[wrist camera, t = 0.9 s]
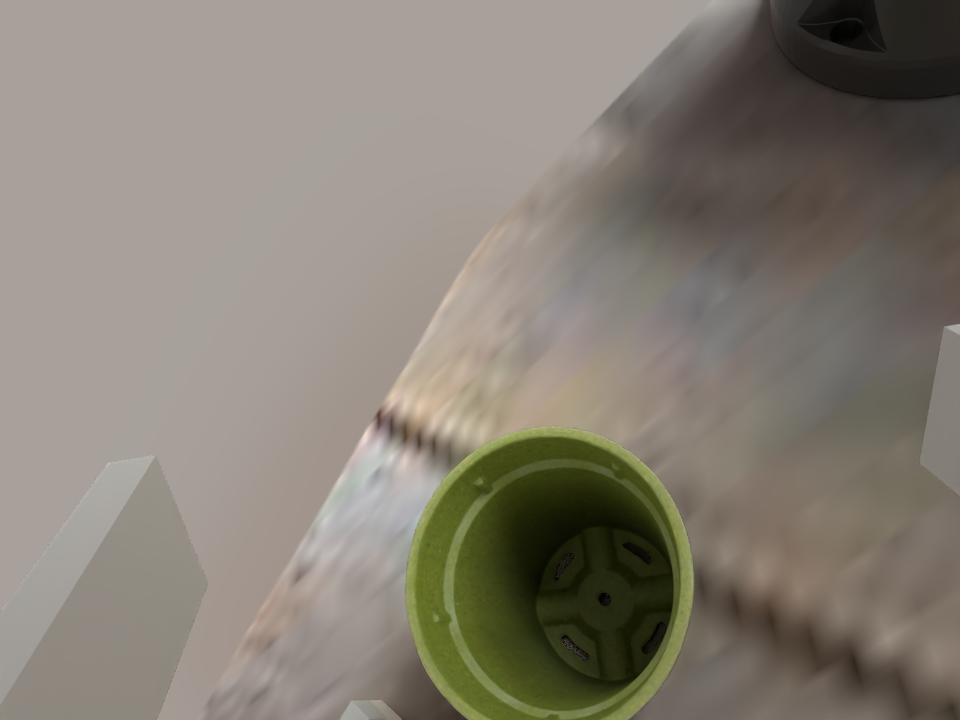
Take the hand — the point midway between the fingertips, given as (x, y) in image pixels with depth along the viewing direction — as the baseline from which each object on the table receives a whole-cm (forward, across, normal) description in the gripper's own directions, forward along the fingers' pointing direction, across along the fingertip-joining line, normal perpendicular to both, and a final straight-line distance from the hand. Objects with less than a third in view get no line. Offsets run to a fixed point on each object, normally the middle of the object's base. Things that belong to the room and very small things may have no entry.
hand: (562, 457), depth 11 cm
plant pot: (+11, +3, -15) cm, 19 cm away
